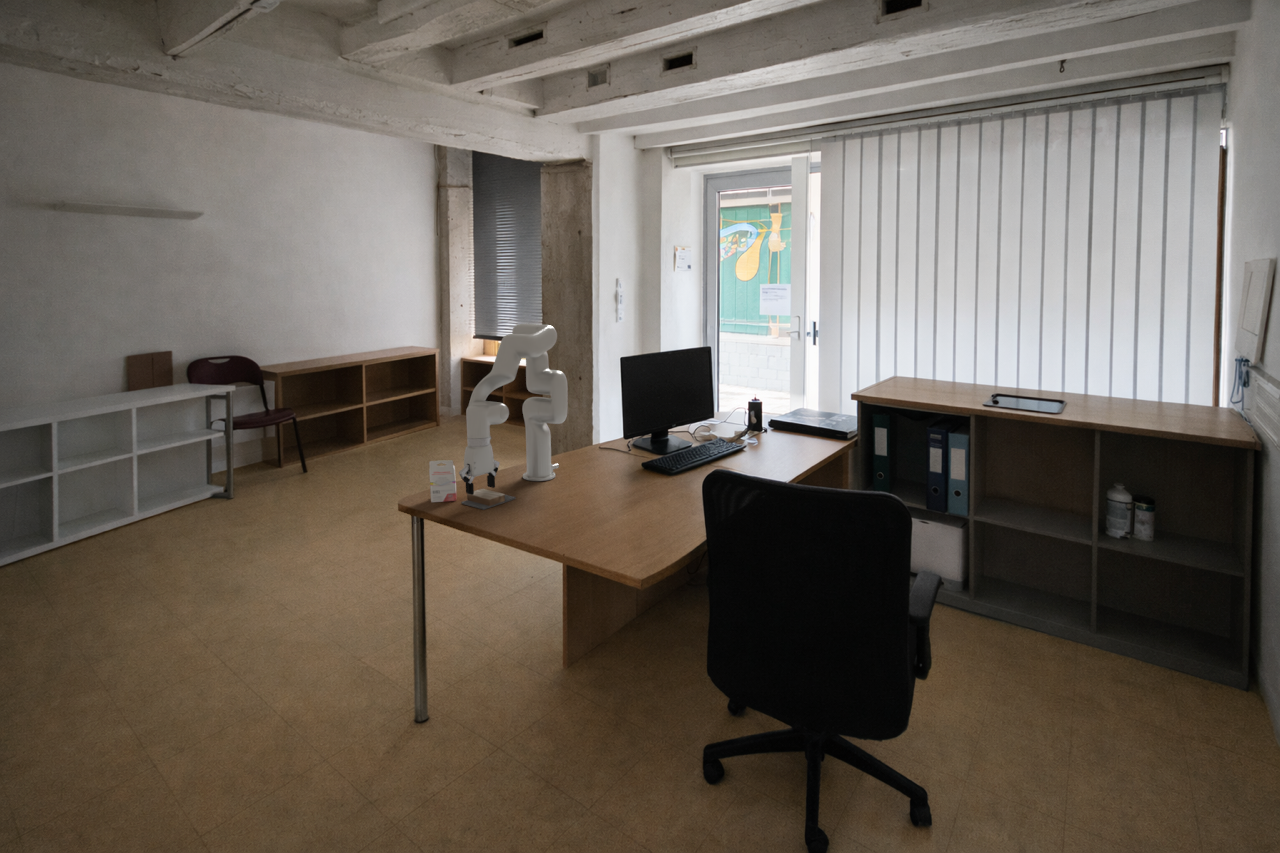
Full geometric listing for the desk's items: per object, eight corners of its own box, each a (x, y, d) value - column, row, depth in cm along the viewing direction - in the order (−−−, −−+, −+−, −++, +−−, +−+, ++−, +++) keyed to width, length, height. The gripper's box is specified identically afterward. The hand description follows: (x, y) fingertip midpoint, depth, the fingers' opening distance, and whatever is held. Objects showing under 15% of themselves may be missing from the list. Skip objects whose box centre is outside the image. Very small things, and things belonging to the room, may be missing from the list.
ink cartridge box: (456, 497, 250) (455, 456, 247) (456, 501, 245) (454, 460, 242) (431, 498, 248) (429, 457, 245) (430, 502, 243) (428, 461, 240)
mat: (493, 493, 254) (493, 491, 254) (515, 498, 248) (515, 497, 248) (461, 503, 242) (461, 502, 242) (483, 509, 236) (483, 508, 236)
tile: (482, 488, 249) (467, 493, 244) (504, 494, 243) (489, 498, 238) (482, 495, 250) (467, 500, 244) (504, 500, 244) (489, 506, 238)
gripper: (490, 435, 247) (491, 482, 250) (451, 444, 233) (453, 494, 237) (505, 438, 243) (506, 486, 246) (466, 448, 229) (468, 498, 232)
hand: (480, 490), depth 241 cm, fingers open, 9 cm apart
